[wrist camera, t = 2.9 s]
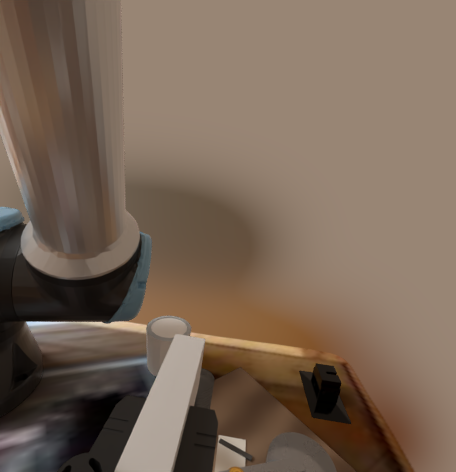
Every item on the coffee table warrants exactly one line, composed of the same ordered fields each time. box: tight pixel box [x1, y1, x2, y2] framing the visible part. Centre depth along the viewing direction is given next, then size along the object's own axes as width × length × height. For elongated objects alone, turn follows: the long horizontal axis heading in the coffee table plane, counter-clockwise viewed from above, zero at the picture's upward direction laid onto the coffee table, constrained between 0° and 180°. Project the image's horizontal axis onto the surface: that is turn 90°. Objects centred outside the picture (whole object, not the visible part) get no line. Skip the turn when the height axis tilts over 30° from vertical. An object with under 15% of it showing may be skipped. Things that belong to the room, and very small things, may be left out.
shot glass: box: [146, 316, 191, 376], centre depth 45 cm, size 7×7×7 cm
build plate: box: [299, 364, 351, 424], centre depth 44 cm, size 12×7×5 cm, turn 177°
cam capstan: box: [194, 368, 337, 472], centre depth 26 cm, size 17×7×14 cm, turn 105°
